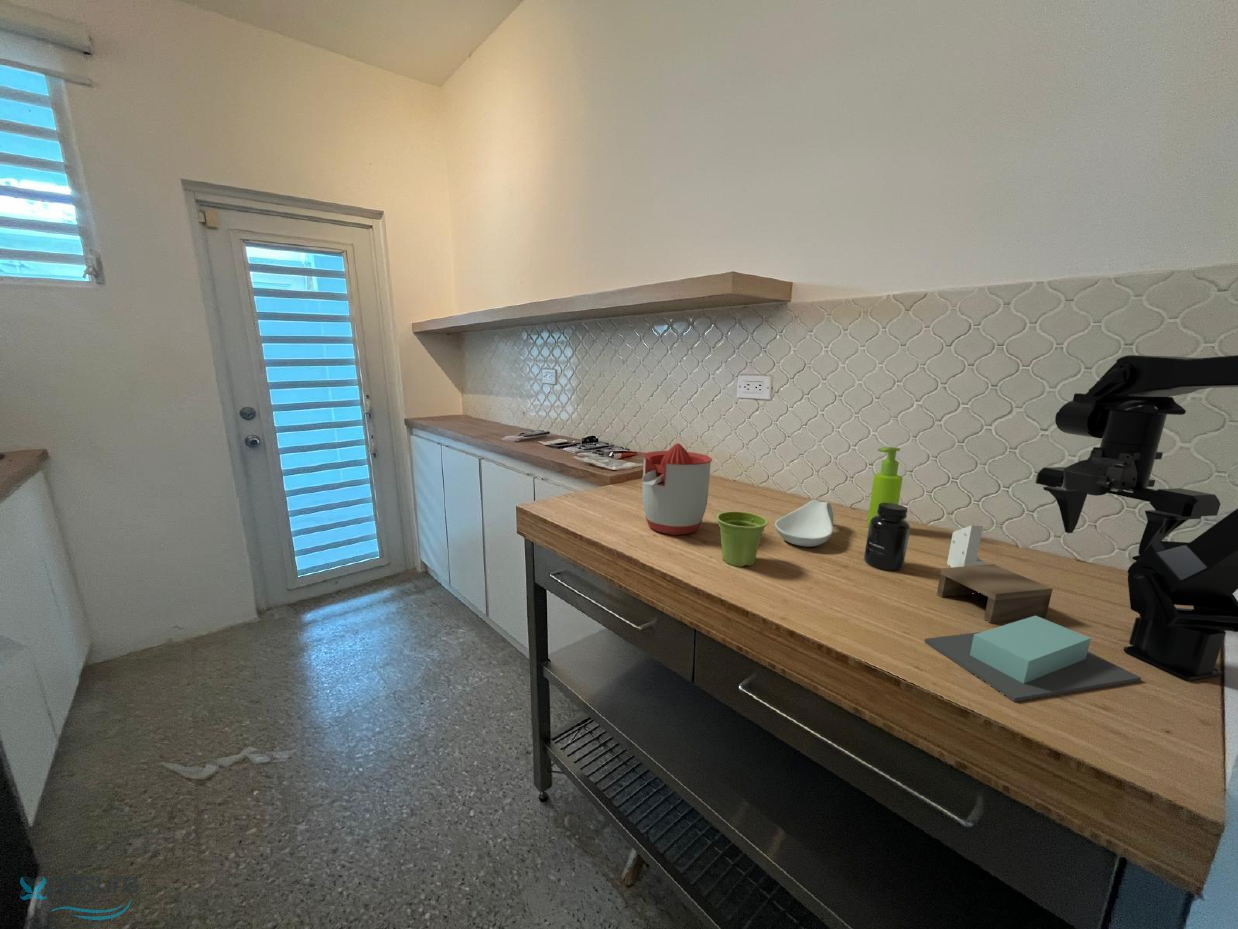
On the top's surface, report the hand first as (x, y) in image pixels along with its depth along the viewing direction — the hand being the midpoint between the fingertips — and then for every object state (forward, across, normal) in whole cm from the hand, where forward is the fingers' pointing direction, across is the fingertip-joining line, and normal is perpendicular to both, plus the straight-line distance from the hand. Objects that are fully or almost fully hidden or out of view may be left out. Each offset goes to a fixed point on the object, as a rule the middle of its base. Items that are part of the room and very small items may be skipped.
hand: (1103, 543), depth 71 cm
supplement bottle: (+12, -22, -18) cm, 31 cm away
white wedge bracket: (+12, -17, -4) cm, 21 cm away
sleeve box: (+12, -5, -13) cm, 18 cm away
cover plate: (+12, +8, -23) cm, 27 cm away
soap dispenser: (+12, -41, -2) cm, 43 cm away
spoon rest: (+12, -40, -22) cm, 47 cm away
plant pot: (+12, -28, -46) cm, 55 cm away
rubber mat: (+12, +8, -23) cm, 27 cm away
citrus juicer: (+12, -48, -53) cm, 73 cm away
